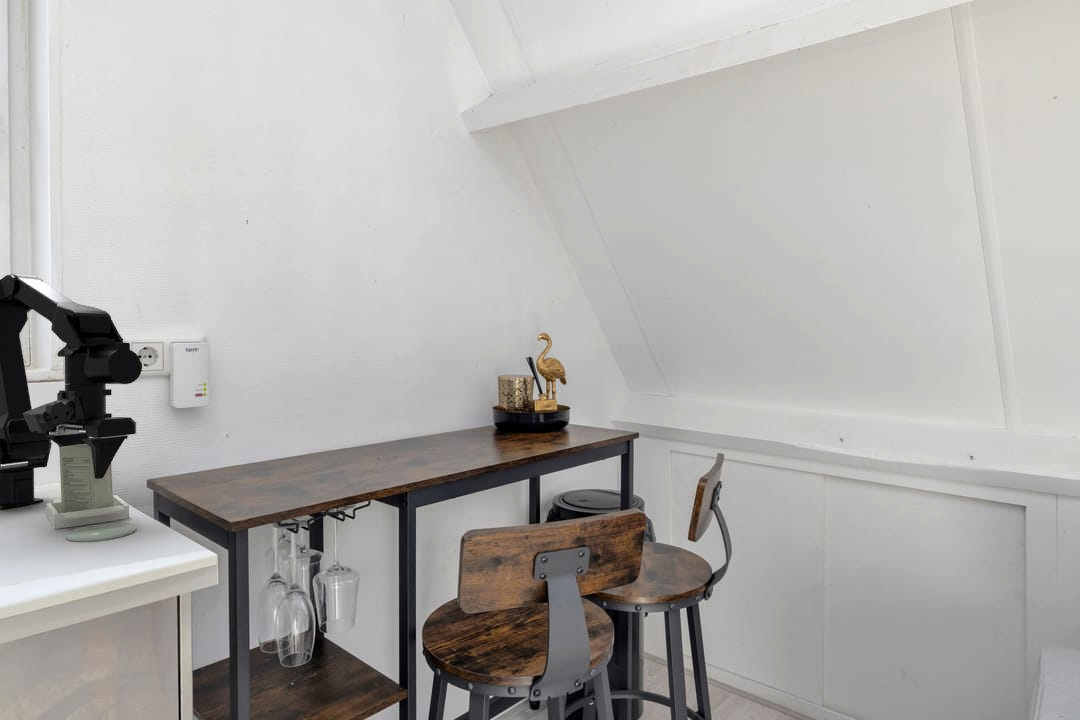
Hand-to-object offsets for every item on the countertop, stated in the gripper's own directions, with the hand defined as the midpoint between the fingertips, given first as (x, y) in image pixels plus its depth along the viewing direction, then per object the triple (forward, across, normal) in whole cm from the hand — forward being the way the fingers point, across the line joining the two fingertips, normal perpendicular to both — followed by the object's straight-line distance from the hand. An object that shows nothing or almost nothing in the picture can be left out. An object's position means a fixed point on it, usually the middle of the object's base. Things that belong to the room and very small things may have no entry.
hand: (86, 476), depth 115 cm
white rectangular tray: (+7, 0, 0) cm, 7 cm away
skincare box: (+7, 0, 0) cm, 7 cm away
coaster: (+7, +14, -5) cm, 16 cm away
